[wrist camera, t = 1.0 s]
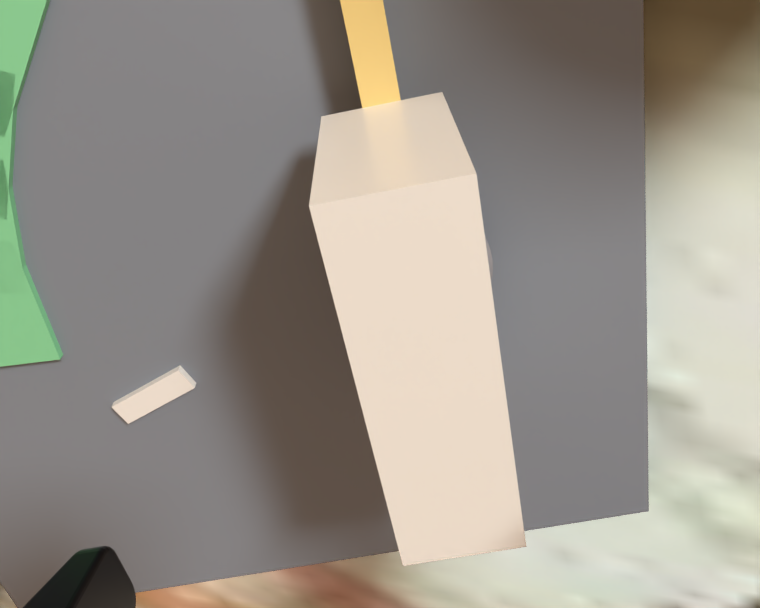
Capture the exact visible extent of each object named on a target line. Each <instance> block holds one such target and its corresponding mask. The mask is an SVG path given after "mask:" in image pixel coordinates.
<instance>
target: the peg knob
mask: <svg viewBox="0 0 760 608" xmlns="http://www.w3.org/2000/svg"><path fill="white" fill-rule="evenodd" d="M340 2H341V7H342V12H343V17H344V22H345V27H346V31H347V36H348V41H349V46H350V51H351V56H352V60H353V65H354V70H355V75H356V80H357V85H358V90H359V94H360V99H361V104H362V108H360V109H355V110H350V111H345V112H340V113H336V114H331V115H326V116H321V123H320V130H319V137H318V145H317V152H316V159H315V166H314V173H313V180H312V187H311V194H310V201H309V209H310V212H311V216H312V220H313V224H314V228H315V232H316V235H317V239H318V243H319V247H320V251H321V255H322V258H323V262H324V266H325V270H326V274H327V277H328V281H329V285H330V289H331V293H332V297H333V300H334V304H335V308H336V312H337V316H338V320H339V323H340V327H341V331H342V335H343V339H344V343H345V346H346V350H347V354H348V358H349V362H350V365H351V369H352V373H353V377H354V381H355V385H356V388H357V392H358V396H359V400H360V404H361V408H362V411H363V415H364V419H365V423H366V427H367V431H368V434H369V438H370V442H371V446H372V450H373V453H374V457H375V461H376V465H377V469H378V473H379V476H380V480H381V484H382V488H383V492H384V496H385V499H386V503H387V507H388V511H389V515H390V518H391V522H392V526H393V530H394V534H395V538H396V541H397V545H398V549H399V553H400V557H401V561H402V564H403V566H406V565H413V564H419V563H425V562H432V561H438V560H444V559H451V558H457V557H464V556H470V555H476V554H483V553H489V552H495V551H502V550H508V549H514V548H521V547H526V542H525V534H524V527H523V519H522V512H521V504H520V497H519V489H518V482H517V474H516V466H515V459H514V451H513V444H512V436H511V429H510V421H509V414H508V406H507V399H506V391H505V384H504V376H503V369H502V361H501V354H500V346H499V339H498V331H497V324H496V316H495V309H494V301H493V294H492V286H491V281H492V274H493V259H492V255H491V250H490V247H489V245H488V242H487V239H486V236H485V233H484V226H483V218H482V211H481V203H480V196H479V188H478V181H477V173H476V171H475V169H474V166H473V164H472V162H471V159H470V157H469V154H468V152H467V150H466V147H465V145H464V143H463V140H462V138H461V135H460V133H459V131H458V128H457V126H456V123H455V121H454V119H453V116H452V114H451V112H450V109H449V107H448V104H447V102H446V100H445V97H444V95H443V93H442V92H439V93H434V94H429V95H424V96H419V97H415V98H410V99H405V100H401V99H400V93H399V88H398V82H397V77H396V71H395V65H394V60H393V54H392V49H391V43H390V37H389V32H388V26H387V21H386V15H385V9H384V4H383V0H340Z"/></svg>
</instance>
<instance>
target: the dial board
mask: <svg viewBox="0 0 760 608" xmlns="http://www.w3.org/2000/svg"><path fill="white" fill-rule="evenodd" d="M383 4H384V9H385V15H386V21H387V26H388V32H389V37H390V43H391V49H392V54H393V60H394V65H395V71H396V77H397V82H398V88H399V93H400V99H401V100H405V99H410V98H415V97H419V96H424V95H429V94H434V93H439V92H442V93H443V95H444V97H445V100H446V102H447V104H448V107H449V109H450V112H451V114H452V116H453V119H454V121H455V123H456V126H457V128H458V131H459V133H460V135H461V138H462V140H463V143H464V145H465V147H466V150H467V152H468V154H469V157H470V159H471V162H472V164H473V166H474V169H475V171H476V173H477V181H478V188H479V196H480V203H481V211H482V218H483V226H484V233H485V236H486V239H487V242H488V245H489V247H490V250H491V255H492V259H493V274H492V281H491V286H492V294H493V301H494V309H495V316H496V324H497V331H498V339H499V346H500V354H501V361H502V369H503V376H504V384H505V391H506V399H507V406H508V414H509V421H510V429H511V436H512V444H513V451H514V459H515V466H516V474H517V482H518V489H519V497H520V504H521V512H522V519H523V527H524V531H527V530H533V529H539V528H545V527H552V526H558V525H564V524H571V523H577V522H583V521H589V520H596V519H602V518H608V517H615V516H621V515H627V514H633V513H640V512H646V511H649V503H648V406H647V308H646V210H645V112H644V15H643V0H383ZM360 108H362V104H361V99H360V94H359V90H358V85H357V80H356V75H355V70H354V65H353V60H352V56H351V51H350V46H349V41H348V36H347V31H346V27H345V22H344V17H343V12H342V7H341V2H340V0H0V583H1V584H2V586H3V587H4V588H5V590H6V591H7V593H8V594H9V596H10V597H11V599H12V600H13V602H14V603H15V605H16V606H17V607H18V608H22V607H23V606H24V605H25V604H26V603H27V602H28V601H29V600H30V599H31V598H32V597H33V596H34V595H35V594H36V593H37V592H38V591H39V590H40V589H41V588H42V587H43V586H44V585H45V584H46V583H47V582H48V580H49V579H50V578H51V577H52V576H53V575H54V574H55V573H56V572H57V571H58V570H59V569H60V568H61V567H62V566H63V565H64V564H65V563H66V562H67V561H68V560H69V559H70V558H71V557H72V556H73V555H74V554H75V553H76V552H78V551H80V550H82V549H87V548H93V547H99V546H109V547H111V548H112V549H114V551H115V552H116V554H117V556H118V558H119V560H120V561H121V563H122V565H123V567H124V569H125V571H126V572H127V574H128V576H129V578H130V580H131V582H132V584H133V586H134V589H135V593H136V592H143V591H149V590H155V589H162V588H168V587H174V586H180V585H187V584H193V583H199V582H206V581H212V580H218V579H224V578H231V577H237V576H243V575H250V574H256V573H262V572H269V571H275V570H281V569H287V568H294V567H300V566H306V565H313V564H319V563H325V562H331V561H338V560H344V559H350V558H357V557H363V556H369V555H375V554H382V553H388V552H394V551H399V549H398V545H397V541H396V538H395V534H394V530H393V526H392V522H391V518H390V515H389V511H388V507H387V503H386V499H385V496H384V492H383V488H382V484H381V480H380V476H379V473H378V469H377V465H376V461H375V457H374V453H373V450H372V446H371V442H370V438H369V434H368V431H367V427H366V423H365V419H364V415H363V411H362V408H361V404H360V400H359V396H358V392H357V388H356V385H355V381H354V377H353V373H352V369H351V365H350V362H349V358H348V354H347V350H346V346H345V343H344V339H343V335H342V331H341V327H340V323H339V320H338V316H337V312H336V308H335V304H334V300H333V297H332V293H331V289H330V285H329V281H328V277H327V274H326V270H325V266H324V262H323V258H322V255H321V251H320V247H319V243H318V239H317V235H316V232H315V228H314V224H313V220H312V216H311V212H310V209H309V201H310V194H311V187H312V180H313V173H314V166H315V159H316V152H317V145H318V137H319V130H320V123H321V116H326V115H331V114H336V113H340V112H345V111H350V110H355V109H360Z"/></svg>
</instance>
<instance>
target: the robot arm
mask: <svg viewBox="0 0 760 608" xmlns="http://www.w3.org/2000/svg"><path fill="white" fill-rule="evenodd" d="M135 606H136V595H135V589H134V586H133V584H132V582H131V580H130V578H129V576H128V574H127V572H126V571H125V569H124V567H123V565H122V563H121V561H120V560H119V558H118V556H117V554H116V552H115V551H114V549H112V548H111V547H109V546H99V547H93V548H87V549H82V550H80V551H78V552H76V553H75V554H74V555H73V556H72V557H71V558H70V559H69V560H68V561H67V562H66V563H65V564H64V565H63V566H62V567H61V568H60V569H59V570H58V571H57V572H56V573H55V574H54V575H53V576H52V577H51V578H50V579H49V580H48V582H47V583H46V584H45V585H44V586H43V587H42V588H41V589H40V590H39V591H38V592H37V593H36V594H35V595H34V596H33V597H32V598H31V599H30V600H29V601H28V602H27V603H26V604H25V605H24V606H23V607H22V608H135Z"/></svg>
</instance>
